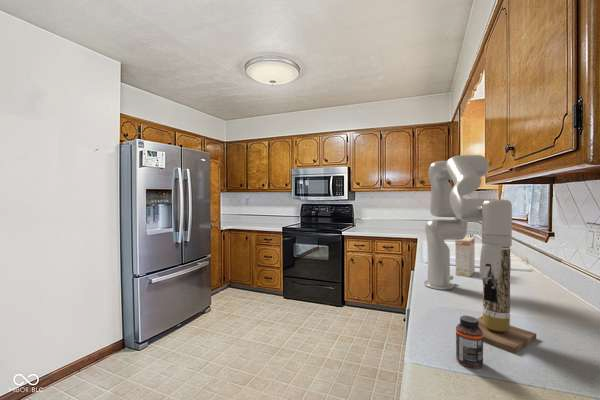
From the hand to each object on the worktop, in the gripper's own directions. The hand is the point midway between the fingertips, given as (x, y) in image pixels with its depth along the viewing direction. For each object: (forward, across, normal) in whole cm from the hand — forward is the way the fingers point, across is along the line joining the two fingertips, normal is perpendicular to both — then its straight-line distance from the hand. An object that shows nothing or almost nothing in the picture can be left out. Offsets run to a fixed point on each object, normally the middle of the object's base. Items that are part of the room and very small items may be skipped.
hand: (496, 298), depth 88 cm
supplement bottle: (+11, +22, +3) cm, 25 cm away
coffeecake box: (+12, -66, -43) cm, 79 cm away
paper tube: (+9, 0, 0) cm, 9 cm away
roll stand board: (+11, 0, 0) cm, 11 cm away
